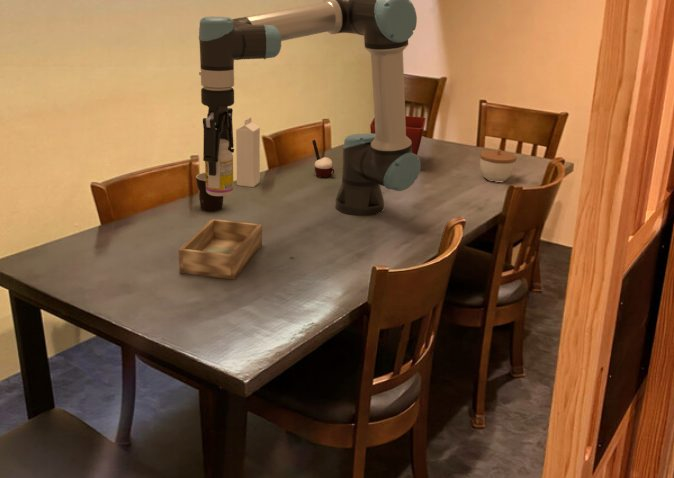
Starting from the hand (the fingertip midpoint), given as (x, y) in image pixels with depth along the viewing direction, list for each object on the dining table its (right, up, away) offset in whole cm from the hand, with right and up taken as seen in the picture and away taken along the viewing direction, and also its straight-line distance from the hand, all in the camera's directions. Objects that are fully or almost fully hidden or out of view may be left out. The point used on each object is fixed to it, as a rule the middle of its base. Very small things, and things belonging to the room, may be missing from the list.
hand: (219, 182), depth 170 cm
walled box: (-1, -18, +9) cm, 20 cm away
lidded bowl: (+85, +8, +83) cm, 119 cm away
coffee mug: (-9, -4, +44) cm, 45 cm away
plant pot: (+51, +14, +95) cm, 109 cm away
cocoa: (+23, +9, +78) cm, 82 cm away
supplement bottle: (0, -2, +1) cm, 3 cm away
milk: (-1, +5, +66) cm, 67 cm away
